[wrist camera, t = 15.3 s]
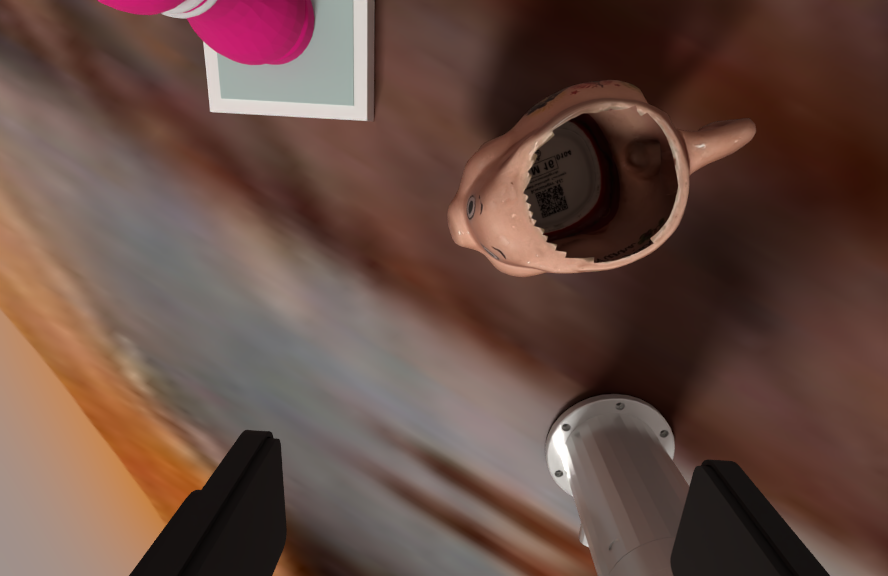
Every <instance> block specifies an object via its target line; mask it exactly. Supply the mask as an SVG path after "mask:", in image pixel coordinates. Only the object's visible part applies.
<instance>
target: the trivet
mask: <svg viewBox="0 0 888 576" xmlns="http://www.w3.org/2000/svg"><path fill="white" fill-rule="evenodd" d="M311 2H312V6H313V10H314V18H315V19H314V31H313V35H312V38H311V40H310V43H309V45H308V46H307V48H306V49H305V50H304V52H303V53H302V54H301V55H300V56H298V57H297V58H296V59H294V60H292V61H290V62H288V63H285V64H280V65H271V64H263V65H246V64H241V63H238V62H235V61H233V60H231V59H229V58H227V57H225V56H223V55H221V54H219V53H217V52H216V51H214V50H213V49H212V48H210V47H209V46H208V45H207V44H206V43H205V42H204V41H203V43H204V53H205V63H206V73H207V83H208V94H209V104H210V112H220V113H237V114H254V115H272V116H289V117H307V118H325V119H342V120H360V121H374V8H375V0H311Z"/></svg>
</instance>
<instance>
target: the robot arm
mask: <svg viewBox="0 0 888 576" xmlns="http://www.w3.org/2000/svg"><path fill="white" fill-rule="evenodd" d="M674 451H675V443H674V436H673V433H672V430H671V428H670V426H669V425H668V423H667V421H666V420H665V418H664V417H663V416H662V415H661V414H660V412H659V411H658V410H657V409H656V408H654V407H653V406H652V405H650V404H649V403H647V402H645V401H643V400H641V399H639V398H636V397H632V396H629V395H621V394H606V395H599V396H595V397H591V398H588V399H586V400H583V401H581V402H578V403H577V404H575V405H574V406H572V407H570V408H569V409H567V410H566V411H565V412H564V413H563V414H562V415H561V416H560V417H559V418H558V419H557V420H556V422H555V423H554V424H553V426H552V428H551V430H550V432H549V434H548V437H547V441H546V444H545V456H546V461H547V465H548V468H549V471H550V474H551V476H552V477H553V479H554V481H555V482H556V483H557V484H558V485H559V487H560V488H561V489H562V490H564V491H565V492H567V493H568V494H569V495H571V496H573V497H574V500H575V504H576V507H577V510H578V513H579V517H580V520H581V527H580V532H579V540H580V542H581V543H582V544H583V545H585V546H587V547H589V549H590V552H591V555H592V558H593V562H594V565H595V568H596V571H597V574H598V576H830V575H829V574H828V573H827V571H826V570H825V569H824V568H823V567H822V565H821V564H820V563H819V562H818V560H817V559H816V558H815V557H814V556H813V554H812V553H811V552H810V551H809V550H808V548H807V547H806V546H805V545H804V544H803V542H802V541H801V540H800V539H799V538H798V536H797V535H796V534H795V533H794V532H793V530H792V529H791V528H790V527H789V526H788V524H787V523H786V522H785V521H784V520H783V518H782V517H781V516H780V515H779V513H778V512H777V511H776V510H775V509H774V507H773V506H772V505H771V504H770V503H769V501H768V500H767V499H766V498H765V497H764V495H763V494H762V493H761V492H760V491H759V489H758V488H757V487H756V486H755V485H754V483H753V482H752V481H751V480H750V479H749V477H748V476H747V475H746V474H745V473H744V471H743V470H742V469H741V468H740V466H739V465H738V464H736V463H735V462H733V461H721V460H705V461H704V462H703V463H702V465H701V466H697V467H696V468H695V470H694V472H693V476H692V480H691V483H690V487H689V485H688V484H687V482H686V481H685V479H684V478H683V476H682V475H681V473H680V471H679V470H678V468H677V467H676V465H675V464H674V462H673V461H672V460H673V458H674ZM285 541H286V515H285V500H284V486H283V471H282V457H281V443H280V440H279V439H273V435H272V433H271V432H269V431H253V430H245V431H243V433H242V434H241V435H240V436H239V438H238V439H237V441H236V442H235V443H234V445H233V446H232V448H231V449H230V450H229V452H228V453H227V455H226V456H225V457H224V459H223V460H222V462H221V463H220V464H219V466H218V467H217V469H216V470H215V471H214V473H213V474H212V476H211V477H210V479H209V480H208V481H207V483H206V484H205V486H204V487H203V488H202V490H195V491H193V492H191V494H190V495H189V496H188V497H187V498H186V499H185V501H184V502H183V503H182V505H181V506H180V507H179V509H178V510H177V511H176V513H175V514H174V516H173V517H172V518H171V520H170V521H169V522H168V524H167V525H166V526H165V528H164V529H163V531H162V532H161V533H160V535H159V536H158V537H157V539H156V540H155V541H154V543H153V544H152V545H151V547H150V548H149V550H148V551H147V552H146V554H145V555H144V556H143V558H142V559H141V560H140V562H139V563H138V565H137V566H136V567H135V569H134V570H133V571H132V573H131V574H130V575H129V576H272V575H273V572H274V570H275V568H276V565H277V563H278V560H279V558H280V556H281V553H282V551H283V548H284V545H285Z"/></svg>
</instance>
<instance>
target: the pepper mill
mask: <svg viewBox="0 0 888 576" xmlns="http://www.w3.org/2000/svg"><path fill="white" fill-rule="evenodd" d="M97 1H99V2H101V3H103V4H105V5H108V6H110V7H112V8H115V9H117V10H120V11H124V12H129V13H133V14H140V15H153V14H158V13H161V14H163V15H166V16H170V17H175V18H187V20H188V22H189V23H190V25H191V26H192V28H193V30H194V31H195V32H196V33H197V35H198V36H199V37H200V38H201V39H202V40H203V41H204V42H205V43H206V44H207V45H208V46H209V47H210V48H212V49H213V50H214V51H216V52H217V53H219V54H221V55H223V56H225V57H227V58H229V59H231V60H233V61H235V62H238V63H241V64H246V65H263V64H271V65H280V64H285V63H288V62H290V61H292V60H294V59H296V58H297V57H298V56H300V55H301V54H302V53H303V52H304V50H305V49H306V48H307V46H308V45H309V43H310V40H311V38H312V35H313V31H314V19H315V18H314V10H313V6H312V2H311V0H97Z"/></svg>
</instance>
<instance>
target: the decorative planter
mask: <svg viewBox="0 0 888 576" xmlns="http://www.w3.org/2000/svg"><path fill="white" fill-rule="evenodd" d="M755 133H756V127H755V123H754V122H753V121H752V120H751V119H750V118H744V119H736V120H727V121H717V122H713V123H710V124H708V125H706V126H703V127H702V128H700V129H699V130H698V131H684V130H679V129H676V128H675V127H674V125H673V123H672V122H671V120H670V117H669V115H667V114H666V113H665V112H664V111H662V110H661V109H659V108H657V107H655V106H652V105H650V104H648V102H647V101H646V99H645V97H644V95H643V93H642V91H641V90H640V89H639V88H638V87H636V86H634V85H633V84H630V83H627V82H623V81H618V80H604V81H593V82H586V83H581V84H577V85H573V86H570V87H567V88H565V89H562V90H560V91H558V92H556V93H554V94H552V95H550V96H549V97H547V98H545V99H543V100H542V101H540V102H539V103H537V104H536V105H534V106H533V107H532V108H531V109H530V110H529V111H528V112H526V113H525V115H524V116H523V117H522V118H521V119H520V120H519V122H518V123H517V124H516V125H515V126H514V127H513V128H512V129H511V130H510V131H508V132H507V133H505V134H504V135H502V136H499V137H497V138H494V139H492V140H490V141H487V142H485V143H484V144H483V145H482V146H481V147H480V148H479V150H478V151H477V152H476V153H475V154H474V155H473V156H472V157H471V158H470V159H469V160H468V162H467V164H466V166H465V169H464V172H463V176H462V180H461V184H460V186H459V189H458V191H457V193H456V195H455V197H454V199H453V200H452V202H451V204H450V206H449V208H448V225H449V229H450V233H451V236H452V238H453V240H454V242H455V243H456V244H458V245H459V246H462V247H466V248H470V249H474V250H477V251H479V252H481V253H483V254H484V255H485V256H486V257H487V258H488V259H489V260H490V262H491V263H492V264H493V265H494V266H495V267H496V268H497V269H498V270H499V271H501V272H503V273H506V274H509V275H512V276H518V277H528V276H533V275H538V274H542V273H546V272H550V273H580V272H595V271H603V270H610V269H615V268H618V267H622V266H624V265H627V264H630V263H632V262H635V261H637V260H639V259H642V258H644V257H646V256H647V255H649V254H651V253H652V252H654V251H655V250H656V249H658V248H659V247H660V246H661V245H662V244H663V243H664V242H665V241H666V240H667V239H668V238H669V237H670V236H671V235H672V234H673V233H674V232H675V230H676V229H677V227H678V226H679V224H680V222H681V220H682V217H683V215H684V211H685V208H686V204H687V200H688V195H689V184H690V175H691V174H692V173H693V172H695V171H696V170H698V169H700V168H702V167H704V166H705V165H707V164H709V163H711V162H714V161H717V160H719V159H722V158H724V157H726V156H728V155H730V154H732V153H734V152H736V151H737V150H739V149H740V148H742V147H743V146H744V145H746V144H747V143H748V142H749V141H751V140H752V138H753V136H754V135H755Z"/></svg>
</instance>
